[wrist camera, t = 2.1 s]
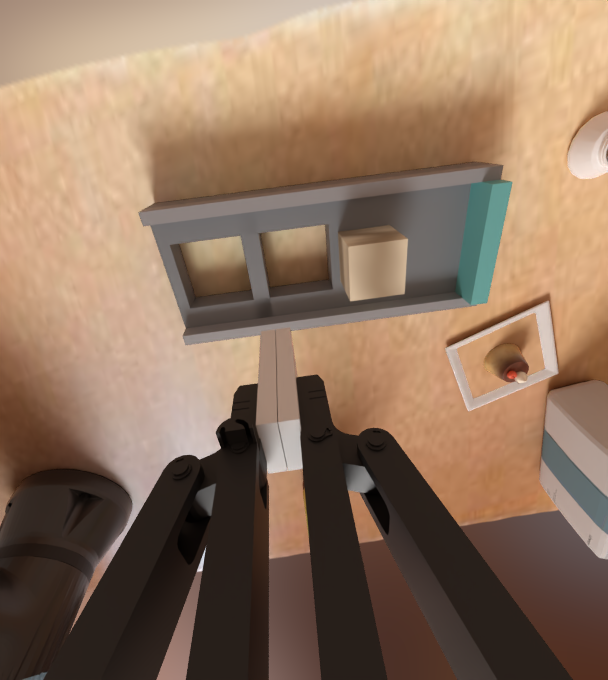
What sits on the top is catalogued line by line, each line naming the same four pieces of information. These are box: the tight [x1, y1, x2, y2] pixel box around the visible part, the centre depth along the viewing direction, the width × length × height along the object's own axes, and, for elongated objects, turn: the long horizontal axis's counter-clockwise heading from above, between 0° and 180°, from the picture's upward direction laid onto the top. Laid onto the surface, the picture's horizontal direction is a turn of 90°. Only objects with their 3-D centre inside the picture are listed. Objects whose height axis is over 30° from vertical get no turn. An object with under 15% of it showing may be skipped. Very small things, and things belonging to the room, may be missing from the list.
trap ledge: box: [138, 162, 512, 345], centre depth 29 cm, size 28×12×6 cm, turn 96°
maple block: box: [338, 225, 408, 301], centre depth 28 cm, size 4×4×4 cm
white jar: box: [568, 111, 608, 179], centre depth 28 cm, size 5×3×5 cm
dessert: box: [445, 300, 559, 411], centre depth 39 cm, size 12×12×5 cm
